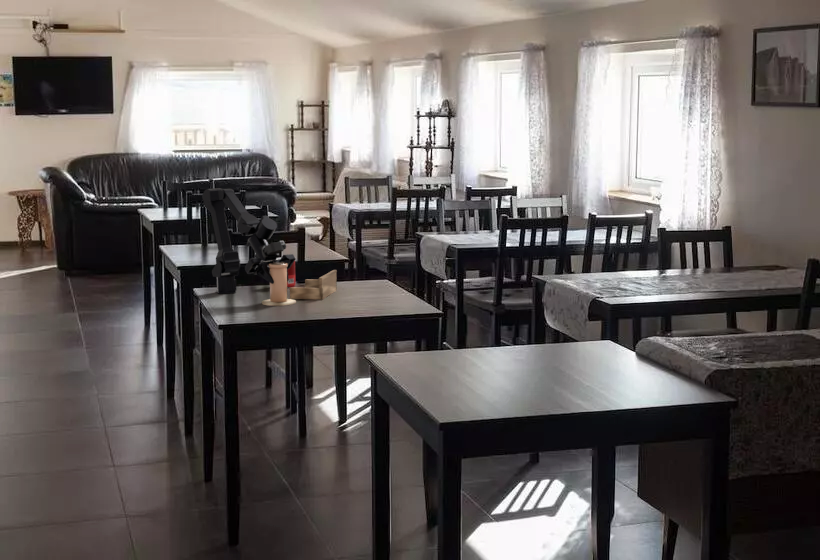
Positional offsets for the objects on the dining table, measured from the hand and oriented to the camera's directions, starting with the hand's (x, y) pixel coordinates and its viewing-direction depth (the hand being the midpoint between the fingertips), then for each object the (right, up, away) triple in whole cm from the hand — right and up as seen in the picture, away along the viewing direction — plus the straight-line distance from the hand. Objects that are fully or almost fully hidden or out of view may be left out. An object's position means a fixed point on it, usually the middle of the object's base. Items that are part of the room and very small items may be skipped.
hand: (280, 282), depth 388 cm
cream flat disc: (-1, -7, +2) cm, 8 cm away
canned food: (-3, -2, +40) cm, 40 cm away
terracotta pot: (-1, -6, +2) cm, 7 cm away
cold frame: (+9, -5, +21) cm, 23 cm away
